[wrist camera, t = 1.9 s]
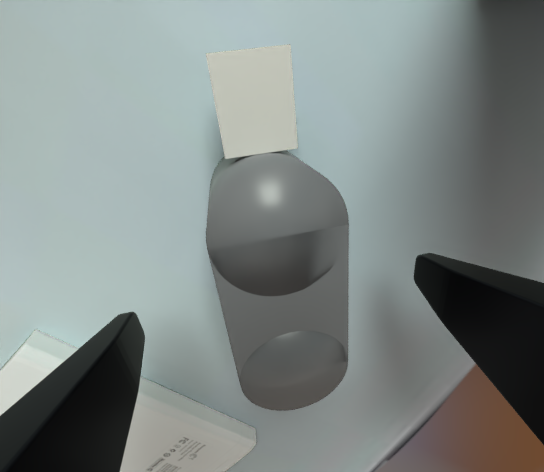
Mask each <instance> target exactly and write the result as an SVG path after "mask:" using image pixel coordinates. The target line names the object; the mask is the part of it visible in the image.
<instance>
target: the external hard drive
mask: <svg viewBox="0 0 544 472" xmlns="http://www.w3.org/2000/svg"><path fill="white" fill-rule="evenodd" d="M78 349H79V348H77V347H75V346H72V345H70V344H68V343H66V342H64V341H61V340H59V339H57V338H55V337H53V336H50V335H48V334H46V333H44V332H41V331H40V330H38V329H36V330H34V332H33V333H32V334H31V335H30V336H29V337H28V338H27V339H26V341H25V342H24V343H23V344H22V345H21V346H20V347H19V349H18V350H17V351H16V352H15V353H14V354H13V355H12V357H11V358H10V359H9V360H8V361H7V362H6V363H5V364H4V366H3V367H2V368H1V369H0V416H1V415H2V414H3V413H4V412H5V411H6V410H8V409H9V408H10V407H11V406H12V405H13V404H15V403H16V402H17V401H18V400H19V399H20V398H22V397H23V396H24V395H25V394H26V393H28V392H29V391H30V390H31V389H32V388H33V387H35V386H36V385H37V384H38V383H39V382H40V381H42V380H43V379H44V378H45V377H46V376H47V375H49V374H50V373H51V372H52V371H53V370H55V369H56V368H57V367H58V366H59V365H60V364H62V363H63V362H64V361H65V360H66V359H67V358H69V357H70V356H71V355H72V354H73V353H74V352H76V351H77V350H78ZM256 443H257V440H256V431H255V428H254V427H251V426H249V425H247V424H245V423H243V422H240V421H238V420H236V419H234V418H232V417H229V416H227V415H225V414H223V413H221V412H218V411H216V410H214V409H212V408H210V407H207V406H205V405H203V404H201V403H199V402H196V401H194V400H192V399H190V398H188V397H185V396H183V395H181V394H179V393H176V392H174V391H172V390H170V389H168V388H165V387H163V386H161V385H159V384H156V383H154V382H152V381H150V380H148V379H145V378H143V377H141V376H140V384H139V390H138V395H137V400H136V404H135V408H134V413H133V417H132V421H131V426H130V430H129V434H128V438H127V443H126V447H125V451H124V455H123V460H122V464H121V468H120V472H225V471H227V470H228V469H229V468H230V467H232V466H233V465H234V464H235V463H237V462H238V461H239V460H241V459H242V458H243V457H244V456H246V455H247V454H248V453H249V452H250V451H251V450H252V449H253V448H254V446H255V445H256Z"/></svg>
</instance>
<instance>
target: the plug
mask: <svg viewBox="0 0 544 472" xmlns="http://www.w3.org/2000/svg"><path fill="white" fill-rule="evenodd" d="M206 57H207V63H208V68H209V74H210V79H211V85H212V90H213V95H214V101H215V106H216V112H217V117H218V123H219V128H220V134H221V139H222V144H223V150H224V155H225V156H224V157H223V158H222V160H221V161H220V162H219V163H218V165H217V167H216V168H215V170H214V173H213V175H212V179H211V184H210V193H209V204H208V216H207V227H206V243H207V249H208V254H209V258H210V262H211V266H212V270H213V274H214V278H215V282H216V286H217V291H218V295H219V299H220V303H221V307H222V311H223V315H224V319H225V323H226V328H227V332H228V336H229V340H230V344H231V348H232V352H233V356H234V360H235V364H236V369H237V373H238V377H239V381H240V385H241V388H242V391H243V393H244V395H245V396H246V397H247V398H248V399H249V400H250V401H251V402H252V403H254V404H256V405H258V406H260V407H262V408H266V409H270V410H293V409H298V408H302V407H305V406H308V405H311V404H313V403H315V402H317V401H319V400H321V399H322V398H324V397H325V396H327V395H328V394H330V393H331V392H332V391H333V390H334V389H335V388H336V387H337V386H338V385H339V383H340V382H341V381H342V379H343V377H344V375H345V373H346V370H347V366H348V250H349V223H348V213H347V209H346V206H345V203H344V200H343V198H342V196H341V195H340V193H339V191H338V190H337V189H336V187H335V186H334V185H333V184H332V183H331V182H330V181H329V180H328V179H327V178H325V177H324V176H323V175H321V174H320V173H318V172H317V171H315V170H314V169H313V168H311V167H310V166H308V165H307V164H305V163H304V162H302V161H301V160H299V159H298V158H296V157H295V156H294V155H292V154H291V153H289V152H288V151H286V150H289V149H296V148H298V143H297V129H296V115H295V101H294V87H293V73H292V59H291V46H290V44H289V45H280V46H270V47H261V48H252V49H243V50H233V51H224V52H215V53H206Z"/></svg>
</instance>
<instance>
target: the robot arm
mask: <svg viewBox="0 0 544 472" xmlns="http://www.w3.org/2000/svg"><path fill="white" fill-rule="evenodd" d="M414 281H415V283H416V285H417V286H418V288H419V289H420V291H421V292H422V294H423V295H424V297H425V298H426V300H427V301H428V303H429V304H430V306H431V307H432V309H433V310H434V311H435V313H436V314H437V316H438V317H439V319H440V320H441V321H442V323H443V324H444V325H445V326H446V328H447V329H448V330H449V331H450V333H451V334H452V335H453V336H454V337H455V339H456V340H457V341H458V342H459V343H460V345H461V346H462V347H463V348H464V349H465V351H466V352H467V353H468V354H469V355H470V357H471V358H472V359H473V360H474V362H475V363H476V364H477V365H478V366H479V367H480V369H481V370H482V371H483V372H484V373H485V375H486V376H487V377H488V378H489V380H490V381H491V382H492V383H493V384H494V386H495V387H496V388H497V389H498V390H499V392H500V393H501V394H502V395H503V396H504V398H505V399H506V400H507V401H508V403H509V404H510V405H511V406H512V407H513V409H515V411H516V412H517V413H518V415H519V416H520V417H521V418H522V419H523V421H524V422H525V423H526V424H527V425H528V427H529V428H530V429H531V430H532V432H533V433H534V434H535V435H536V436H537V438H538V439H539V440H540V441H541V442H542V443H543V445H544V283H542V282H538V281H534V280H530V279H527V278H523V277H519V276H515V275H511V274H508V273H504V272H500V271H496V270H493V269H489V268H485V267H481V266H478V265H474V264H470V263H466V262H462V261H459V260H455V259H451V258H447V257H444V256H440V255H436V254H432V253H427V254H422V255H419V256H417V258H416V262H415V270H414ZM144 342H145V335H144V331H143V329H142V326H141V324H140V322H139V319H138V317H137V315H136V313H134V312H128V313H123V314H120V315H118V316H117V317H116V318H114V319H113V320H112V321H111V322H110V323H109V324H107V325H106V326H105V327H104V328H103V329H102V330H100V331H99V332H98V333H97V334H96V335H94V336H93V337H92V338H91V339H90V340H89V341H87V342H86V343H85V344H84V345H83V346H82V347H80V348H79V349H78V350H77V351H76V352H74V353H73V354H72V355H71V356H70V357H69V358H67V359H66V360H65V361H64V362H63V363H62V364H60V365H59V366H58V367H57V368H56V369H55V370H53V371H52V372H51V373H50V374H49V375H47V376H46V377H45V378H44V379H43V380H42V381H40V382H39V383H38V384H37V385H36V386H35V387H33V388H32V389H31V390H30V391H29V392H28V393H26V394H25V395H24V396H23V397H22V398H20V399H19V400H18V401H17V402H16V403H15V404H13V405H12V406H11V407H10V408H9V409H8V410H6V411H5V412H4V413H3V414H2V415H1V416H0V472H120V468H121V464H122V460H123V455H124V451H125V447H126V443H127V438H128V434H129V430H130V426H131V421H132V417H133V413H134V408H135V404H136V400H137V395H138V390H139V384H140V376H141V368H142V359H143V351H144Z"/></svg>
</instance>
